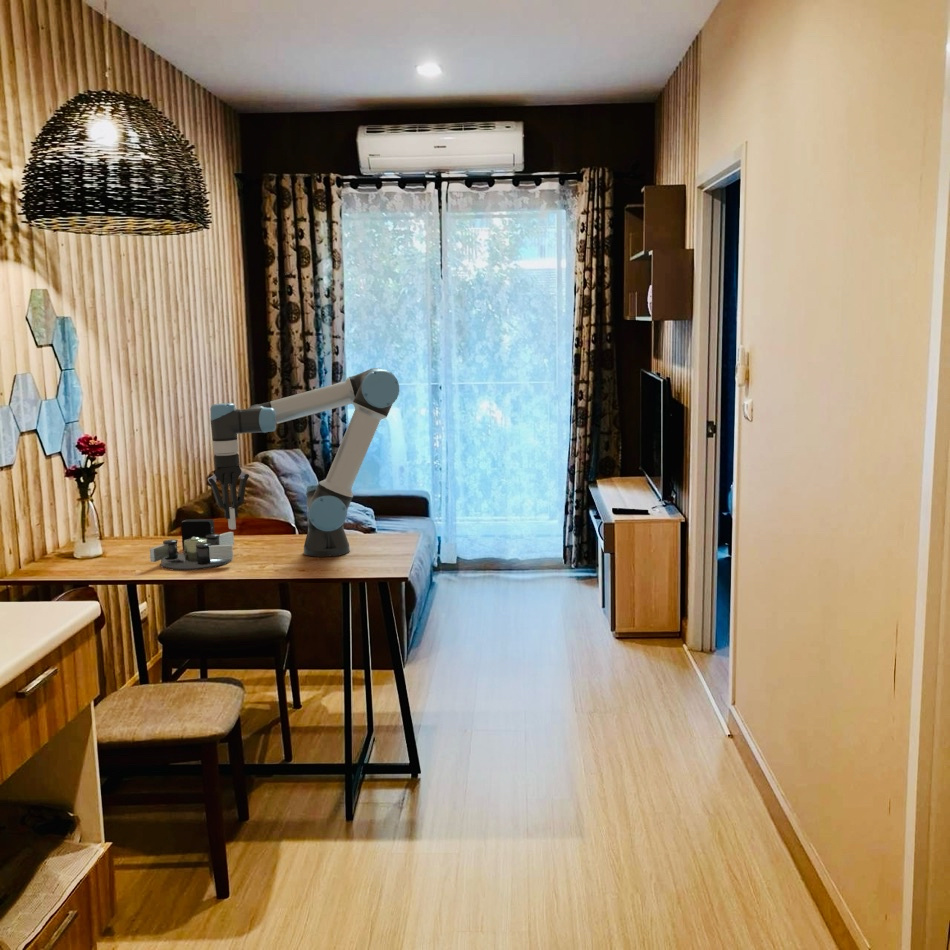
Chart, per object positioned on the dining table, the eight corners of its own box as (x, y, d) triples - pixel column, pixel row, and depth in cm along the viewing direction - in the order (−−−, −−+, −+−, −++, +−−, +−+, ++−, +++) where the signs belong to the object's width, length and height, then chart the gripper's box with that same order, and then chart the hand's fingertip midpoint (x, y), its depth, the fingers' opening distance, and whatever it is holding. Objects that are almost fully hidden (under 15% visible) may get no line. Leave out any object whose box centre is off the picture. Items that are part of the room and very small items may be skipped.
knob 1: (170, 556, 314) (168, 539, 313) (181, 557, 312) (180, 539, 311) (147, 564, 303) (145, 546, 303) (158, 565, 302) (157, 547, 301)
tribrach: (246, 557, 316) (244, 532, 315) (198, 573, 297) (196, 546, 296) (195, 551, 326) (193, 527, 325) (145, 566, 307) (144, 540, 306)
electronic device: (211, 550, 328) (210, 521, 327) (182, 550, 329) (180, 521, 327) (215, 547, 333) (213, 518, 331) (186, 547, 333) (184, 519, 331)
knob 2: (214, 554, 315) (213, 537, 315) (203, 553, 317) (202, 536, 317) (237, 547, 325) (236, 530, 324) (227, 546, 327) (226, 529, 326)
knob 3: (195, 564, 302) (194, 546, 302) (198, 560, 307) (197, 543, 306) (231, 562, 303) (230, 544, 302) (234, 559, 308) (233, 541, 307)
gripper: (242, 450, 304) (248, 523, 308) (201, 454, 298) (208, 529, 301) (250, 452, 298) (256, 527, 302) (209, 457, 291) (215, 533, 295)
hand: (232, 528), depth 301 cm, fingers closed
